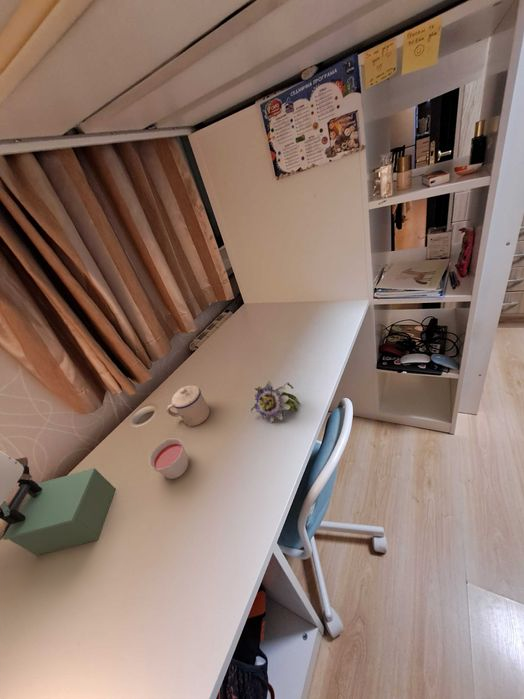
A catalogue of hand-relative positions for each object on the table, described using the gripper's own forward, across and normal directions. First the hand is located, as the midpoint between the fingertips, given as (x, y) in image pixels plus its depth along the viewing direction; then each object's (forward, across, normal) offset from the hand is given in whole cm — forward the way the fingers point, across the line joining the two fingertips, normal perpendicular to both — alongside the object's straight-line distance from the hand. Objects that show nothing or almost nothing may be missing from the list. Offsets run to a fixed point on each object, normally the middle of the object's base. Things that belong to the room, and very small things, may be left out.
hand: (27, 505), depth 67 cm
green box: (+10, 0, +6) cm, 12 cm away
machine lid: (+1, 0, +6) cm, 6 cm away
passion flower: (+10, -18, +61) cm, 64 cm away
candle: (+10, -8, +31) cm, 34 cm away
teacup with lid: (+10, -25, +34) cm, 43 cm away
